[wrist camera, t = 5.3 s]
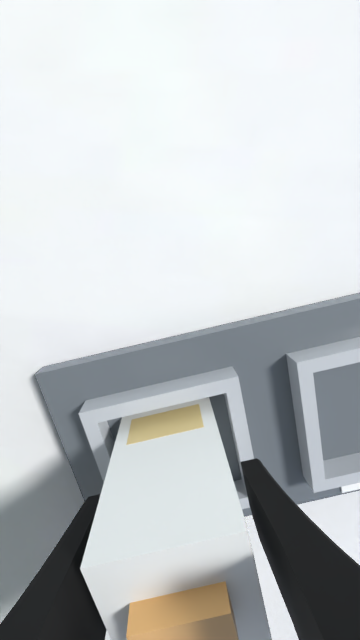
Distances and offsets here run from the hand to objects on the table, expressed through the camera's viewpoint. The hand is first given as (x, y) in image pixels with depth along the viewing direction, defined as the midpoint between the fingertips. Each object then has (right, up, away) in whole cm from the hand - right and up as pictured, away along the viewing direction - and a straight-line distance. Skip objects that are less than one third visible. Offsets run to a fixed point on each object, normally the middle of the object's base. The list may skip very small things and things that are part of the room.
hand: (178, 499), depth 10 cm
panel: (+4, +2, +3) cm, 6 cm away
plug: (0, +1, +3) cm, 3 cm away
